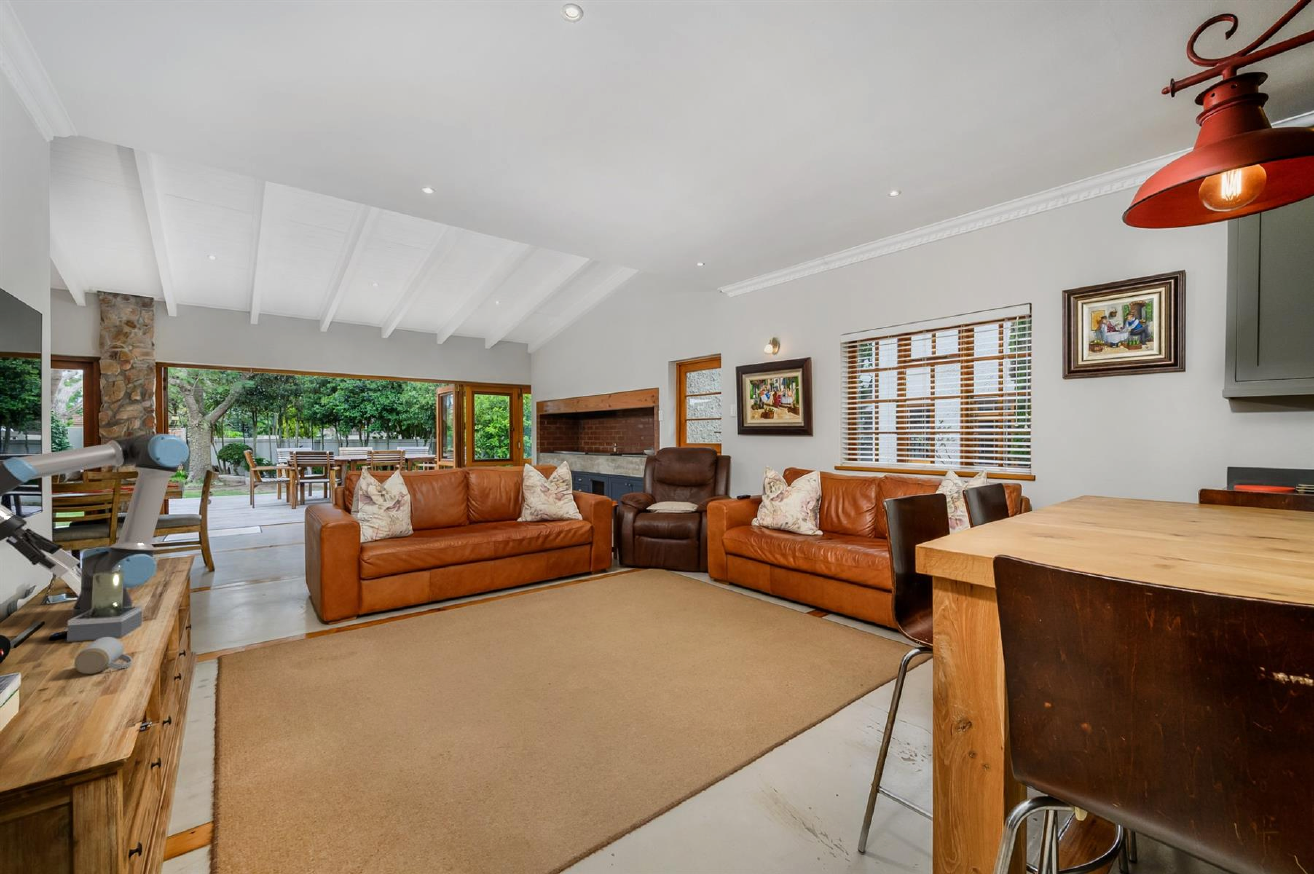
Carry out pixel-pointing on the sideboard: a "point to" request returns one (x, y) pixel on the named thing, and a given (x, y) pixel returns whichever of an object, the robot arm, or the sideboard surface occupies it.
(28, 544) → the robot arm
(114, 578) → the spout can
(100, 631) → the grey rectangular tray
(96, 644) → the ceramic mug
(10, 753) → the sideboard surface
